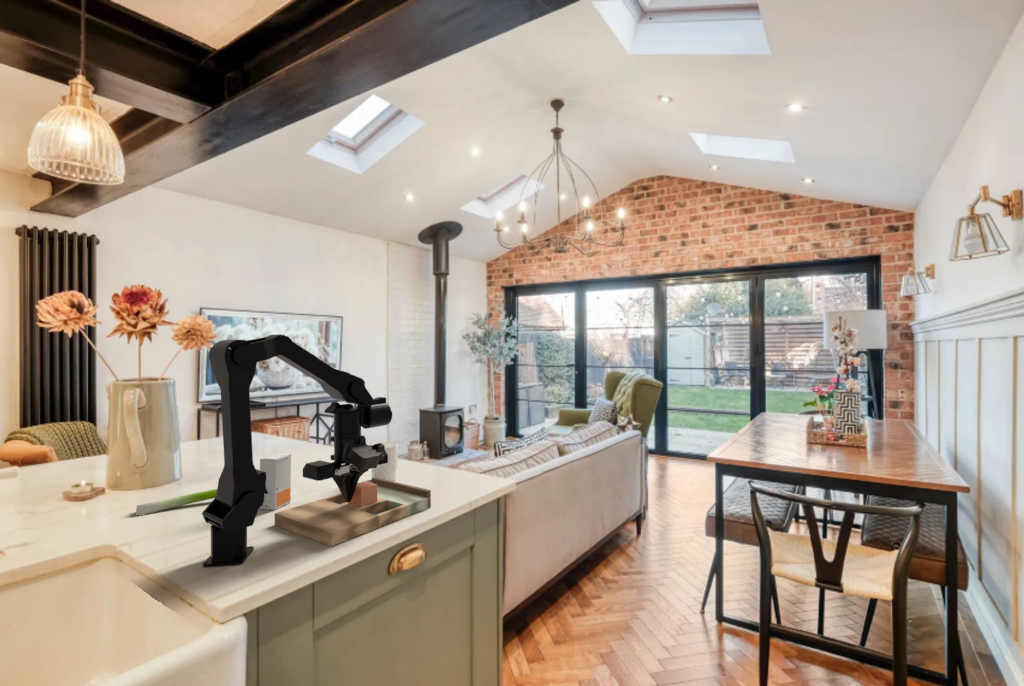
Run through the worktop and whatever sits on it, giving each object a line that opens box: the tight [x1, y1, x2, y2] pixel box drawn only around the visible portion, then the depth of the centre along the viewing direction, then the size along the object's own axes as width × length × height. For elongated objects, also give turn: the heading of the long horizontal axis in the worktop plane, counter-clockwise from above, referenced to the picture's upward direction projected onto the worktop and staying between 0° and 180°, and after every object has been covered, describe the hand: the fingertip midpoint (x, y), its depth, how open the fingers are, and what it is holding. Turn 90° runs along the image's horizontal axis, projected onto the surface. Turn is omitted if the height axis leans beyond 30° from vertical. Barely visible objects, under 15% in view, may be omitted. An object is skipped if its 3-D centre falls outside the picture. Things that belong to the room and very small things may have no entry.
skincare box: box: [259, 452, 292, 511], centre depth 118 cm, size 6×4×12 cm
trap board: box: [274, 477, 432, 547], centre depth 111 cm, size 27×20×4 cm
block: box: [348, 480, 377, 507], centre depth 112 cm, size 4×4×4 cm
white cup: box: [370, 441, 399, 482], centre depth 140 cm, size 8×8×10 cm
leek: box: [135, 488, 217, 517], centre depth 120 cm, size 6×7×30 cm
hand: (348, 501), depth 109 cm, fingers closed
